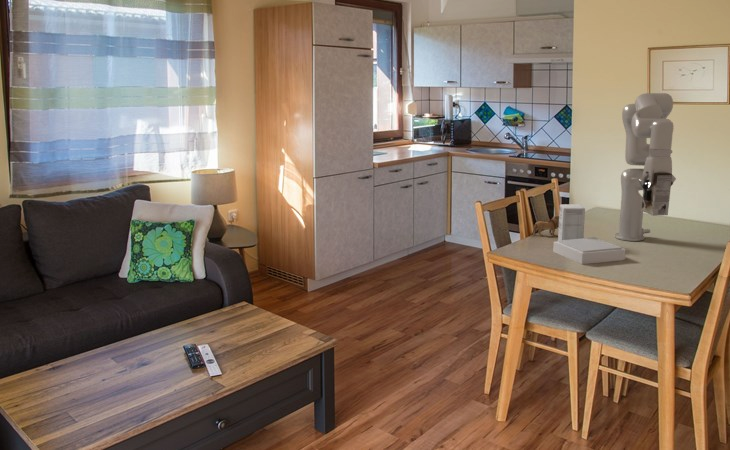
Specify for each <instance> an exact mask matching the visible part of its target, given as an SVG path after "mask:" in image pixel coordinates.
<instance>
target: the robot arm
mask: <svg viewBox="0 0 730 450" xmlns="http://www.w3.org/2000/svg"><path fill="white" fill-rule="evenodd" d="M673 108H674V100H673V97H672V95H670V94H669V93H666V92H664V93H663V92H659V93H656V92H655V93H654V92H653V93H651V92H649V93H647V92H646V93H642V94H639V95H638V96H637V97H636V99H635V100H634V103H629V104H626V105H625V106H623V108H622V112H621V113H622V114H621V117H622V118H621V120H622V124H623V127H624V130H625V153H624V154H625V162H626V164H627V165H629V166H638V167H639V166H640V167H641V166H642V167H643V168H626V169H624V170H623V171H622V172H621V174H620V185H621V200H620V210H619V211H620V213H619V222H618V223H619V225H618V232H617V233H614V238H616V239H618V240H622V241H628V242H641V241H644V240H645V239H646V237H645V234H650V233H651V229H650V228H646V229H645V228H643V218H644V212H643V211H642V199H643V195H642V194H641V193H640V191H643V190H644V200H646V201H651V191H650V189H651V187H652V184H653V180H654V173H671V174H672V180H671V187H672V186H673V185H674V182H675V181H676V179H677V178H676V177H675V175H674V174H673V162H672V157H671V155H672V153H673V150H672V146H673V145H672V144H673V143H672V142H673V136H674V135H673V133H674V123H673V121H672V120H671V119H669V118H668V117H669V115H670V114H671V113H672V111H673ZM648 139H649V143H648V142H647V140H648ZM646 180H647V181H646ZM648 185H649V186H648Z"/></svg>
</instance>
